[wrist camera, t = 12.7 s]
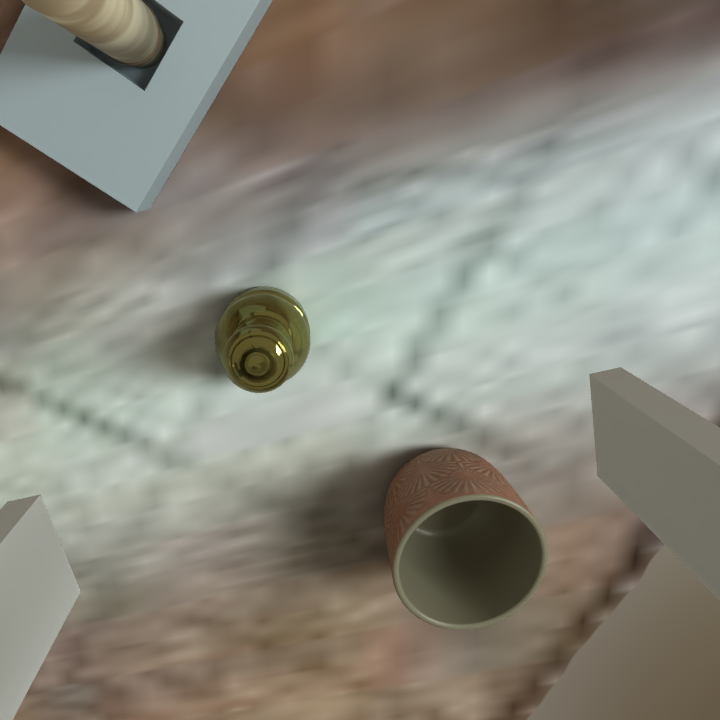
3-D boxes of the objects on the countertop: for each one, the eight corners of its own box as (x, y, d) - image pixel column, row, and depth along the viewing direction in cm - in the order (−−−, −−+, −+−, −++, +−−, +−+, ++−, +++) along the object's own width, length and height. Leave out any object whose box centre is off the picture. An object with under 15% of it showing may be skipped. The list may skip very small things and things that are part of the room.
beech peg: (108, 67, 42) (-1, 7, 27) (110, 1, 41) (-3, -99, 26) (168, 77, 43) (95, 25, 28) (172, 13, 42) (97, -78, 27)
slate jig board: (149, 209, 47) (136, 212, 43) (2, 113, 44) (-27, 108, 40) (289, -28, 43) (287, -48, 39) (137, -150, 40) (119, -184, 36)
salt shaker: (314, 290, 50) (317, 318, 40) (304, 374, 52) (305, 419, 42) (224, 279, 49) (205, 305, 39) (218, 365, 51) (199, 409, 41)
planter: (521, 518, 58) (568, 592, 48) (406, 569, 59) (428, 653, 48) (477, 412, 55) (518, 469, 44) (354, 468, 55) (366, 536, 45)
